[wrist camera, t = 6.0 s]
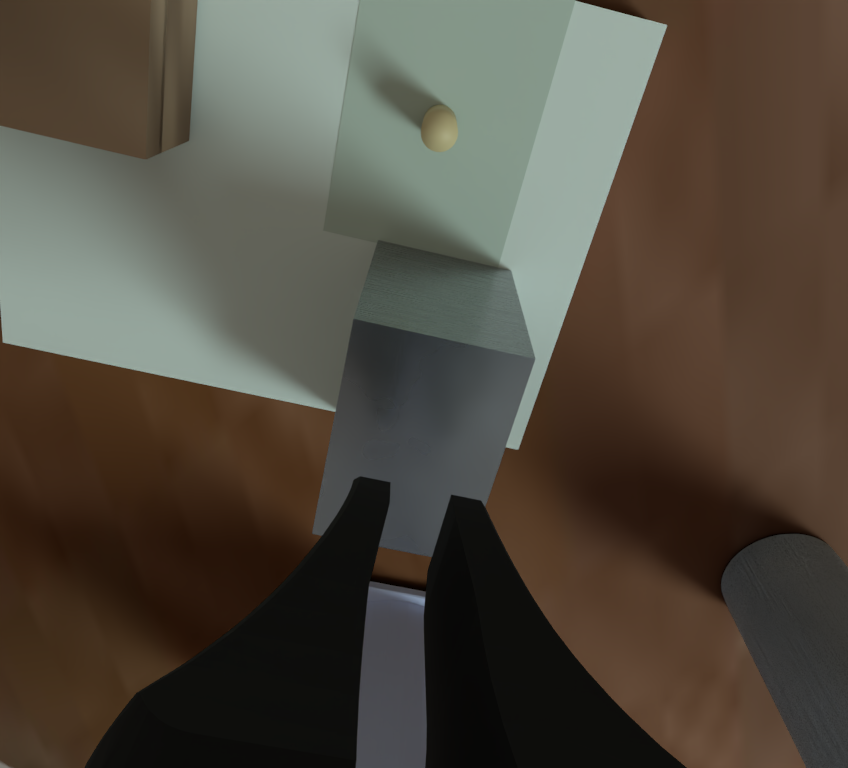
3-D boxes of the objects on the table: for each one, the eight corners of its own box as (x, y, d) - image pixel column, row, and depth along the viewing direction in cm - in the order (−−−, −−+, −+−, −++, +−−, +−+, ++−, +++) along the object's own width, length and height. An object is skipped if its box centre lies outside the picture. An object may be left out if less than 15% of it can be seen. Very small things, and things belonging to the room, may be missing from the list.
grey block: (460, 437, 23) (465, 563, 17) (343, 413, 22) (312, 533, 17) (511, 270, 20) (535, 358, 15) (378, 239, 20) (353, 318, 14)
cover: (189, 141, 18) (145, 159, 16) (-1, 95, 18) (-79, 107, 15) (202, -77, 16) (153, -98, 13) (-15, -134, 16) (-111, -168, 13)
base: (514, 431, 24) (524, 485, 21) (23, 327, 22) (-37, 370, 20) (655, 21, 18) (695, 19, 15) (-4, -155, 16) (-96, -193, 14)
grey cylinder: (758, 518, 25) (934, 792, 16) (862, 549, 26) (1090, 831, 17) (698, 601, 27) (825, 886, 18) (796, 628, 28) (966, 918, 19)
